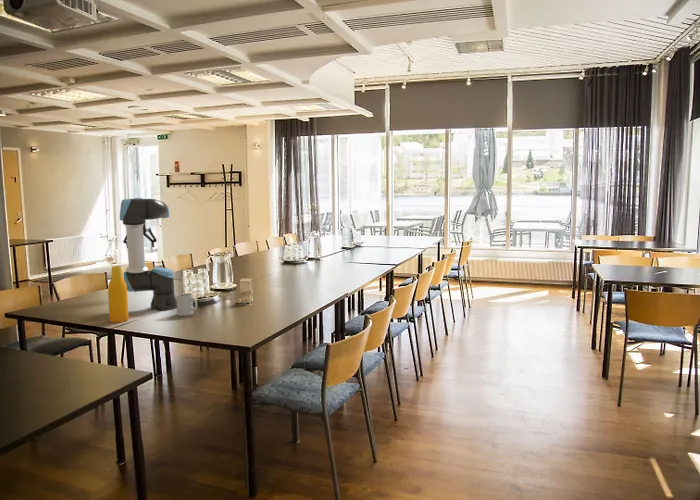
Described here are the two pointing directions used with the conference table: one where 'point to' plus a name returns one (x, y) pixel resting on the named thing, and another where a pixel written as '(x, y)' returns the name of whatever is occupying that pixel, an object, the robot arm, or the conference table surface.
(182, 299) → the mug
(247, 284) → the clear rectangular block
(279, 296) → the conference table surface
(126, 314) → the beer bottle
